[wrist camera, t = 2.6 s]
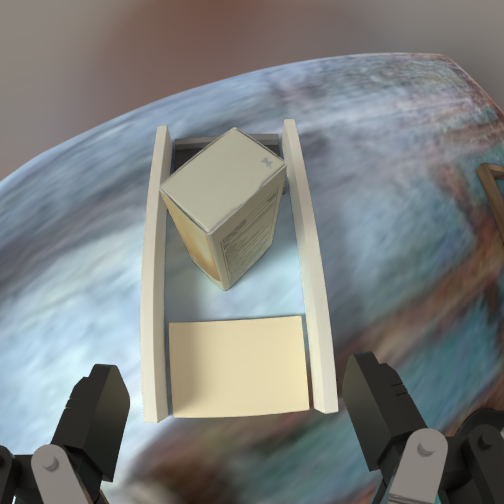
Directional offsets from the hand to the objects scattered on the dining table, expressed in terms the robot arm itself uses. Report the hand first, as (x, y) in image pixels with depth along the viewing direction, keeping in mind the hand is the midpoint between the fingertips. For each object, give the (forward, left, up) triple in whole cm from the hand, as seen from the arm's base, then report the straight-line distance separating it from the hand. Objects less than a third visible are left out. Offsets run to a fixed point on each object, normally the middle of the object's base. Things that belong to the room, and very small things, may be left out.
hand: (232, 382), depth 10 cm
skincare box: (0, +10, -15) cm, 18 cm away
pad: (0, 0, -15) cm, 15 cm away
